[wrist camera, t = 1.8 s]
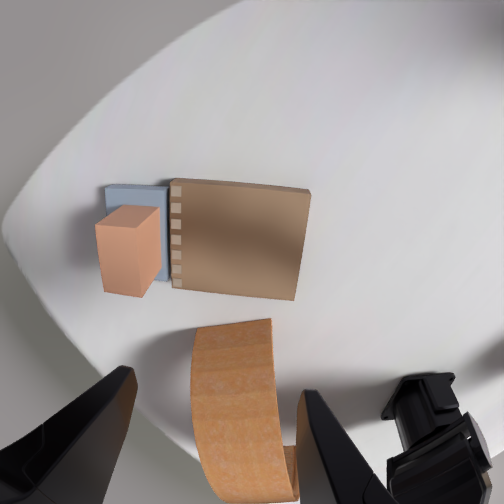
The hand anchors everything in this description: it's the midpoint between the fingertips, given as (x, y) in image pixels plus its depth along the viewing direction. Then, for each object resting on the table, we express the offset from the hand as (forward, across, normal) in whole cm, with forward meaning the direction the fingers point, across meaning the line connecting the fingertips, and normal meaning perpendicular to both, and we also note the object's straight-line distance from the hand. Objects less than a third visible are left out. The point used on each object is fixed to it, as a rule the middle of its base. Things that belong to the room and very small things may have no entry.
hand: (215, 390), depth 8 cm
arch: (+12, -3, +16) cm, 21 cm away
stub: (+12, +7, 0) cm, 14 cm away
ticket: (+12, 0, 0) cm, 12 cm away
